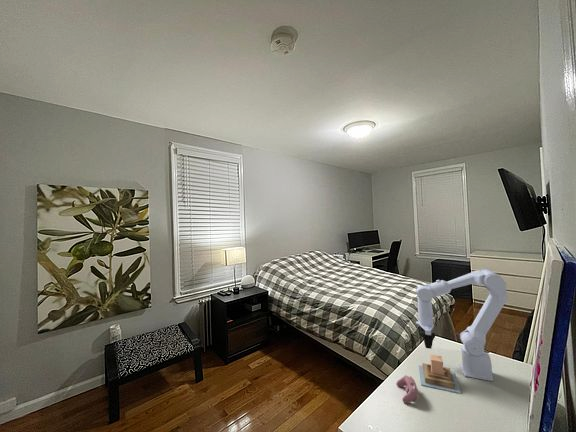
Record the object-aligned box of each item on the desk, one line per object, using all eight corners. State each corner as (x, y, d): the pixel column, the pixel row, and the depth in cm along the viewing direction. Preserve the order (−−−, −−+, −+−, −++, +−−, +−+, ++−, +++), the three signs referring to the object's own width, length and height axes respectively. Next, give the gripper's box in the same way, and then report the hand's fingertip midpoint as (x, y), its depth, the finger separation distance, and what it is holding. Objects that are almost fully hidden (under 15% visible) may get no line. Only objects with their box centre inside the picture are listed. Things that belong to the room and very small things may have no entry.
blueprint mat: (453, 372, 100) (453, 371, 100) (461, 393, 88) (460, 392, 88) (418, 365, 105) (418, 365, 105) (421, 385, 93) (421, 384, 93)
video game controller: (414, 409, 84) (422, 392, 84) (402, 402, 85) (410, 386, 85) (406, 389, 94) (413, 374, 93) (395, 383, 95) (402, 368, 94)
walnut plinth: (449, 372, 99) (449, 366, 99) (455, 389, 90) (454, 381, 90) (422, 367, 103) (422, 361, 103) (425, 382, 94) (424, 375, 94)
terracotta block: (442, 370, 98) (441, 356, 98) (443, 376, 94) (442, 361, 94) (431, 368, 99) (430, 354, 99) (432, 374, 96) (431, 359, 96)
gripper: (413, 306, 114) (415, 334, 114) (416, 318, 101) (418, 350, 101) (430, 307, 111) (432, 336, 111) (435, 320, 98) (438, 353, 98)
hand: (427, 343), depth 106 cm, fingers open, 7 cm apart
